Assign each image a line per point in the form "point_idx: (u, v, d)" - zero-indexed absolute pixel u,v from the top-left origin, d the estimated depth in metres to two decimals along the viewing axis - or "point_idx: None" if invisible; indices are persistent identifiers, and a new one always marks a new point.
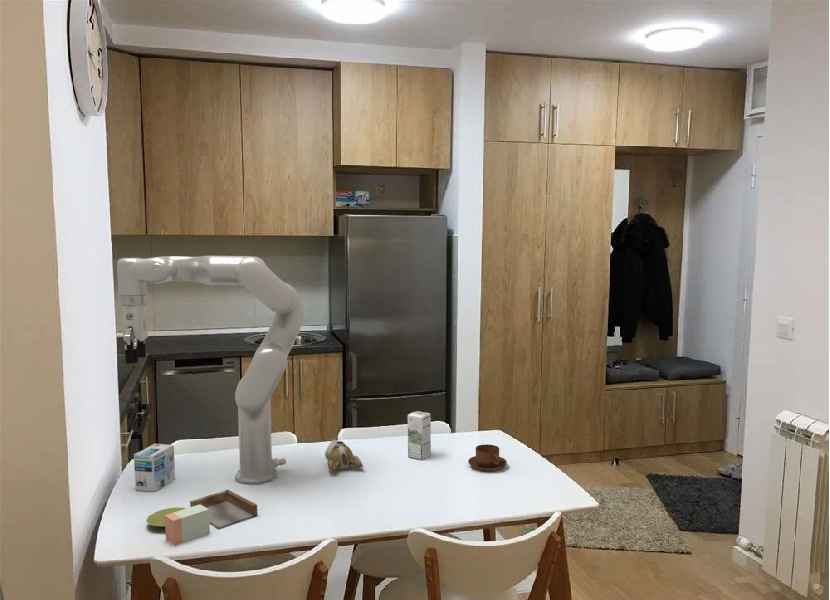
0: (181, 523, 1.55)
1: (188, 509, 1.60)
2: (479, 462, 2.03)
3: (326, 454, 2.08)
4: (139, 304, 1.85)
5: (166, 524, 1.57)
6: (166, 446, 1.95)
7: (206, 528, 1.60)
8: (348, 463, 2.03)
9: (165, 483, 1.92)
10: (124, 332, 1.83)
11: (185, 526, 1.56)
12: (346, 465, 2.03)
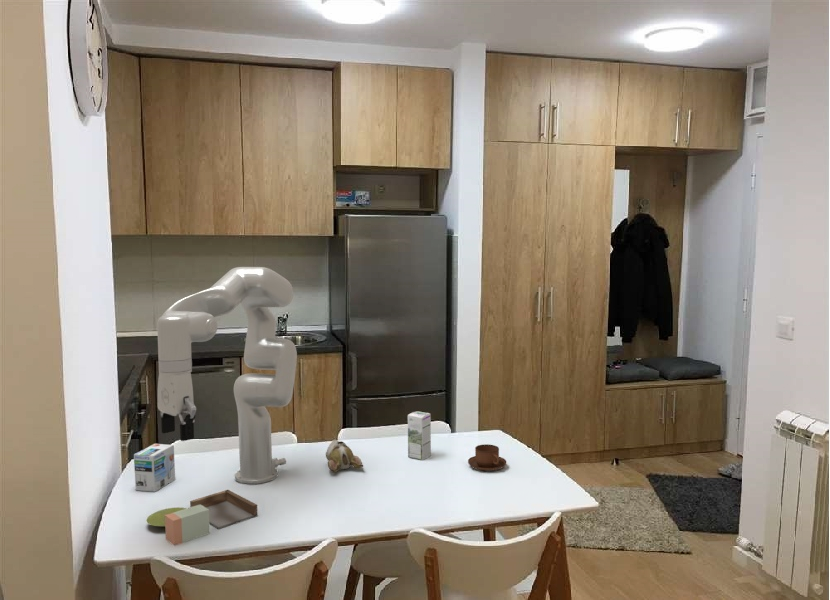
0: (181, 523, 1.55)
1: (188, 509, 1.60)
2: (479, 462, 2.03)
3: (327, 454, 2.08)
4: None
5: (166, 524, 1.57)
6: (166, 446, 1.95)
7: (206, 528, 1.60)
8: (348, 463, 2.03)
9: (165, 483, 1.92)
10: None
11: (185, 526, 1.56)
12: (346, 465, 2.03)
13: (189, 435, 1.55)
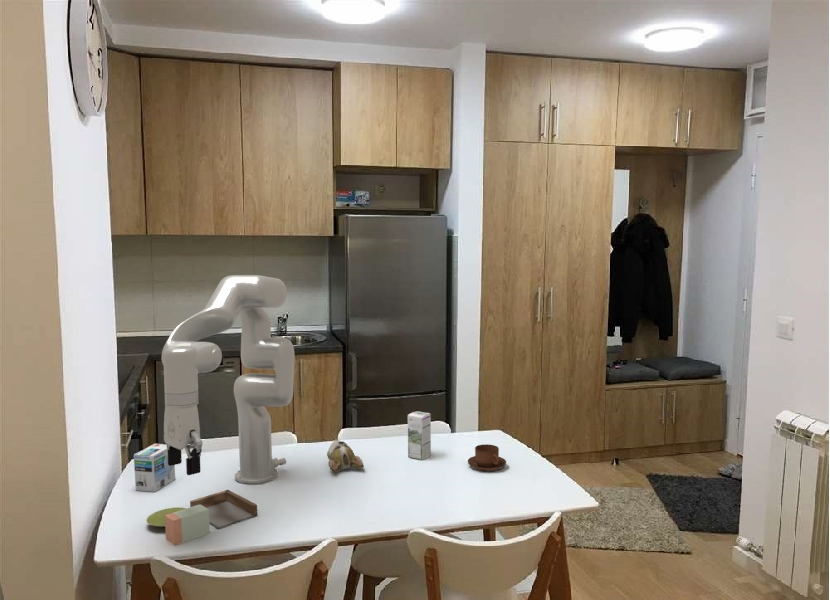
0: (181, 523, 1.55)
1: (188, 509, 1.60)
2: (478, 462, 2.03)
3: (328, 454, 2.08)
4: None
5: (166, 524, 1.57)
6: (166, 446, 1.95)
7: (206, 528, 1.60)
8: (349, 463, 2.03)
9: (165, 483, 1.92)
10: None
11: (185, 526, 1.56)
12: (347, 465, 2.02)
13: (195, 469, 1.53)
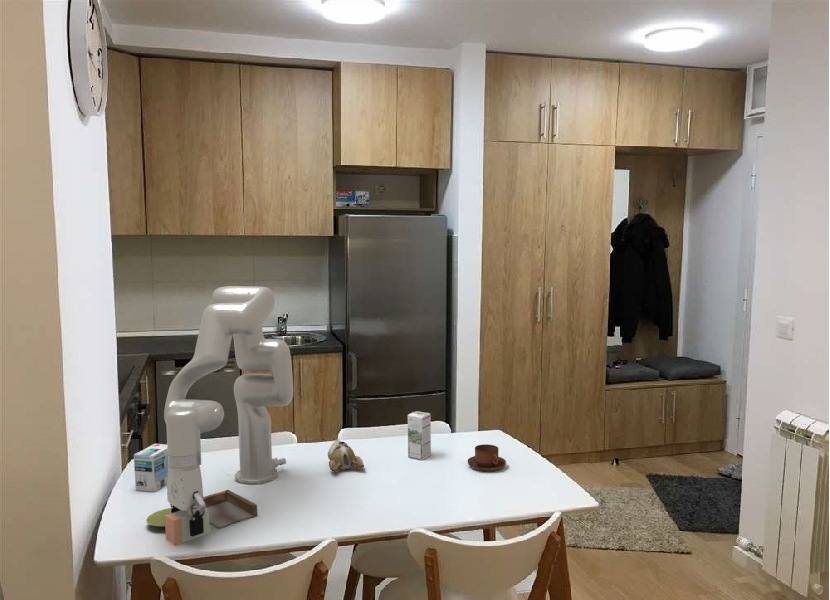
0: (181, 523, 1.55)
1: None
2: (478, 462, 2.03)
3: (328, 454, 2.08)
4: None
5: (166, 524, 1.57)
6: (166, 446, 1.95)
7: (206, 528, 1.60)
8: (350, 463, 2.03)
9: (165, 483, 1.92)
10: None
11: (185, 526, 1.56)
12: (348, 465, 2.02)
13: (199, 530, 1.55)
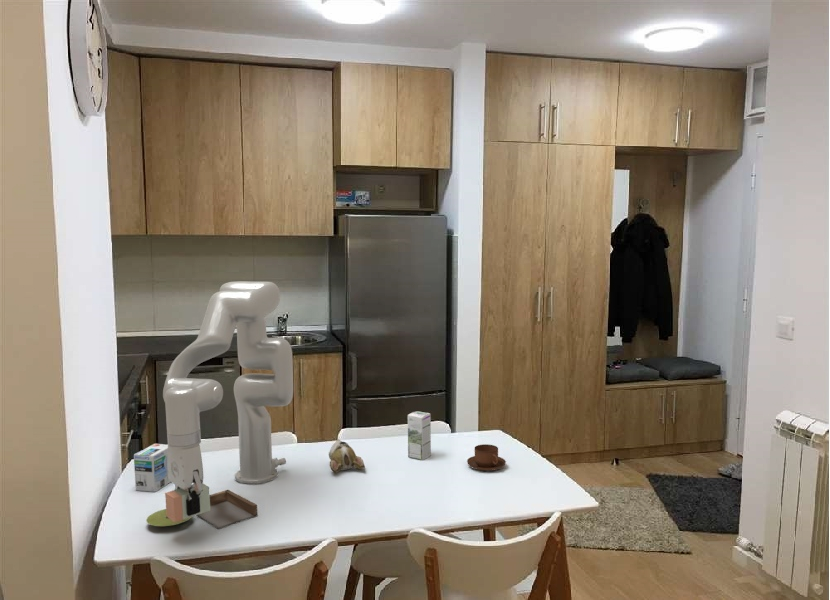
0: (181, 500, 1.55)
1: None
2: (478, 462, 2.03)
3: (329, 454, 2.08)
4: None
5: (166, 502, 1.57)
6: (166, 446, 1.95)
7: (207, 505, 1.60)
8: (350, 464, 2.02)
9: (165, 483, 1.92)
10: None
11: (185, 503, 1.56)
12: (348, 466, 2.02)
13: (195, 510, 1.57)
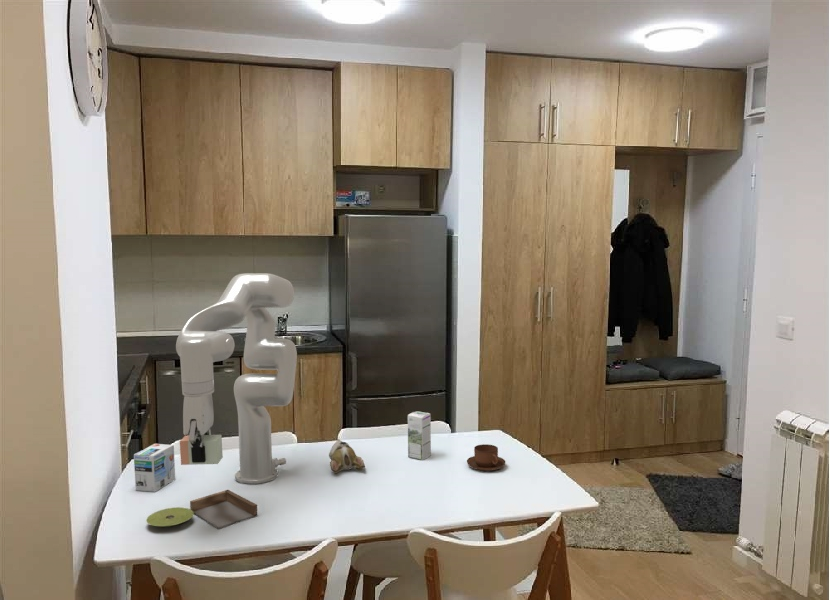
0: (188, 446, 1.61)
1: (206, 436, 1.64)
2: (478, 462, 2.03)
3: (330, 454, 2.08)
4: None
5: None
6: (166, 446, 1.95)
7: (214, 458, 1.61)
8: (351, 464, 2.02)
9: (165, 483, 1.92)
10: None
11: None
12: (349, 466, 2.02)
13: (197, 458, 1.60)
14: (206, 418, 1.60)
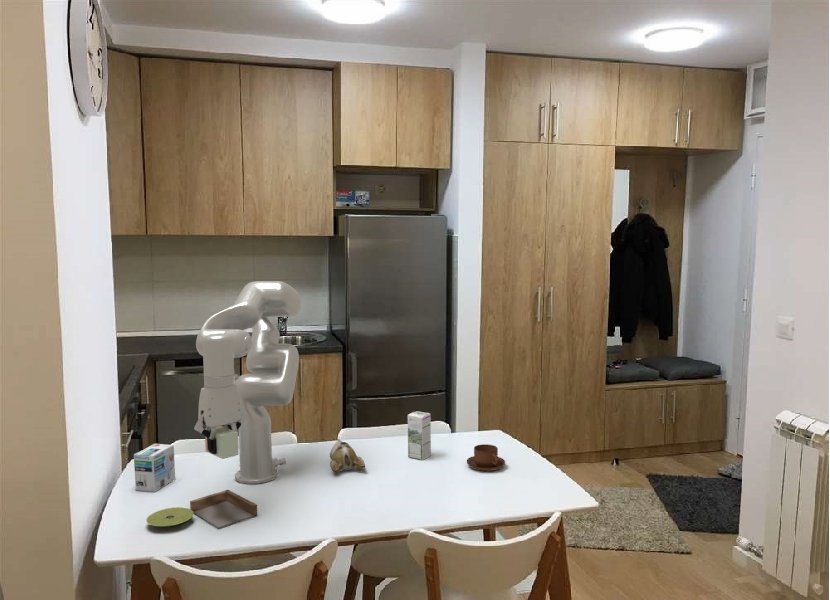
0: None
1: (227, 430, 1.71)
2: (477, 462, 2.03)
3: (330, 454, 2.08)
4: None
5: None
6: (166, 446, 1.95)
7: (220, 452, 1.67)
8: (351, 464, 2.02)
9: (165, 483, 1.92)
10: None
11: None
12: (349, 466, 2.02)
13: (209, 449, 1.68)
14: (216, 412, 1.67)
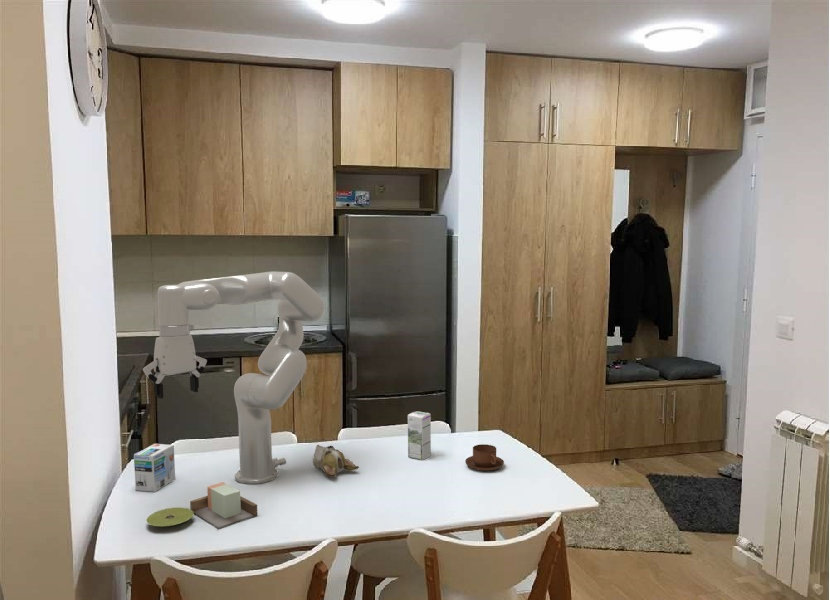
0: (211, 493, 1.72)
1: (230, 488, 1.72)
2: (476, 462, 2.03)
3: (315, 461, 2.02)
4: None
5: None
6: (166, 446, 1.95)
7: (223, 512, 1.68)
8: (342, 467, 2.00)
9: (165, 483, 1.92)
10: (195, 360, 1.78)
11: (213, 498, 1.72)
12: (341, 469, 1.99)
13: (155, 393, 1.72)
14: (171, 360, 1.72)
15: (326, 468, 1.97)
